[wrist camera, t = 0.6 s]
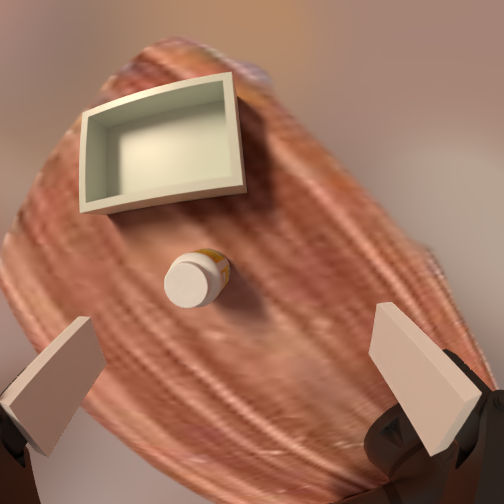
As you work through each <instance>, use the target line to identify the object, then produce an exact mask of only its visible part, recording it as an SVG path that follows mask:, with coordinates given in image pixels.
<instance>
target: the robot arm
mask: <svg viewBox="0 0 504 504" xmlns="http://www.w3.org/2000/svg"><path fill="white" fill-rule="evenodd" d="M369 355H370V357H371V358H372V360H373V362H374V363H375V365H376V366H377V368H378V369H379V371H380V373H381V374H382V376H383V377H384V379H385V381H386V382H387V384H388V385H389V387H390V389H391V390H392V392H393V393H394V395H395V397H396V398H397V400H398V402H399V403H398V404H397V405H395V406H393V407H392V408H390V409H389V410H388V411H386V412H385V413H384V414H383V415H382V416H381V417H379V418H378V419H377V420H376V422H375V423H374V424H373V425H372V426H371V428H370V429H369V431H368V432H367V434H366V437H365V439H364V450H365V452H366V455H367V457H368V459H369V460H370V461H371V462H372V463H373V464H374V465H375V466H376V467H378V468H379V469H380V470H381V471H382V472H383V473H385V474H386V475H387V476H388V478H389V480H390V482H389V483H387V484H384V485H382V486H379V487H377V488H375V489H372V490H370V491H367V492H364V493H362V494H359V495H356V496H353V497H350V498H347V499H344V500H341V501H338V502H335V503H328V504H504V390H495V391H491V390H490V388H489V387H488V386H487V385H486V384H485V383H484V382H483V381H482V380H481V379H480V378H479V377H478V376H477V375H476V374H475V373H474V372H473V371H472V370H470V368H469V367H468V366H467V365H466V364H464V362H463V361H462V360H461V359H460V358H459V357H458V356H457V355H456V354H454V353H453V352H451V351H449V350H447V349H444V350H441V349H440V348H439V347H438V346H437V345H436V344H435V343H434V342H433V341H432V340H431V339H430V338H429V337H428V336H427V335H426V334H425V333H424V332H423V331H422V330H421V329H420V328H419V327H418V326H417V325H416V324H415V323H413V322H412V321H411V320H410V319H409V318H408V317H407V316H406V315H405V314H404V313H403V312H402V311H401V310H400V309H399V308H398V307H396V306H395V305H394V304H393V303H392V302H386V303H379V304H377V307H376V314H375V321H374V327H373V333H372V339H371V345H370V350H369ZM106 364H107V363H106V361H105V358H104V355H103V353H102V350H101V347H100V344H99V342H98V339H97V336H96V333H95V330H94V327H93V323H92V320H91V317H81V316H79V317H78V318H76V319H75V320H74V321H73V322H72V323H71V324H70V325H69V326H68V327H67V328H66V329H65V330H64V331H63V332H62V333H61V334H60V335H59V336H58V337H56V338H55V339H54V340H53V341H52V342H51V343H50V344H49V345H48V346H47V347H46V348H45V349H44V350H43V351H42V352H41V353H40V354H39V355H38V356H37V357H36V358H35V359H34V361H33V362H32V363H31V364H30V365H29V366H28V367H26V368H25V369H24V370H23V371H22V372H21V373H20V374H19V375H18V377H16V378H15V379H14V380H13V383H11V384H10V385H9V386H8V387H7V388H6V389H5V390H4V391H3V392H2V394H1V395H0V504H41V503H40V499H39V496H38V492H37V488H36V485H35V480H34V475H33V471H32V466H31V461H30V454H29V451H28V449H27V447H26V446H25V445H26V443H27V442H28V443H29V444H30V445H31V446H32V448H33V449H34V450H35V451H36V452H38V453H40V454H42V455H44V456H46V457H49V456H50V454H51V452H52V451H53V449H54V447H55V446H56V444H57V442H58V440H59V439H60V437H61V435H62V433H63V432H64V430H65V428H66V427H67V425H68V423H69V422H70V420H71V418H72V417H73V415H74V413H75V412H76V410H77V409H78V407H79V405H80V404H81V402H82V401H83V399H84V398H85V396H86V394H87V393H88V391H89V390H90V388H91V387H92V385H93V384H94V382H95V380H96V379H97V377H98V376H99V374H100V373H101V371H102V370H103V368H104V367H105V365H106Z"/></svg>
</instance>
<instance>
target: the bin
mask: <svg viewBox="0 0 504 504" xmlns="http://www.w3.org/2000/svg"><path fill="white" fill-rule="evenodd" d="M245 193H247V186H246V176H245V166H244V157H243V147H242V137H241V128H240V118H239V109H238V99H237V93H236V89H235V84H234V80H233V76H232V72H227V73H221V74H214V75H209V76H203V77H198V78H193V79H188V80H183V81H179V82H175V83H171V84H167V85H163V86H159V87H155V88H152V89H148V90H145V91H141V92H138V93H135V94H132V95H129V96H126V97H123V98H120V99H117V100H114V101H111V102H109V103H106V104H103V105H101V106H98V107H96V108H93V109H91V110H88V111H86V112H83V117H82V127H81V139H80V158H79V202H80V213H86V214H101V215H108V214H113V213H119V212H124V211H129V210H135V209H140V208H146V207H152V206H158V205H164V204H170V203H177V202H183V201H190V200H197V199H204V198H212V197H219V196H227V195H236V194H245Z"/></svg>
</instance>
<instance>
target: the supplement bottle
mask: <svg viewBox="0 0 504 504" xmlns="http://www.w3.org/2000/svg"><path fill="white" fill-rule="evenodd" d="M229 278H230V265H229V262H228V260H227V259H226V257H225V256H224V255H223V254H222V253H220V252H218V251H216V250H214V249H200V250H197V251H193V252H189V253H186V254H183V255H181V256H180V257H178V258H177V259H176V260H175V261H174V262H173V263H172V265H171V267H170V269H169V271H168V272H167V274H166V276H165V280H164V288H165V292H166V294H167V296H168V298H169V299H170V300H171V301H172V302H173V303H174V304H175V305H177V306H179V307H182V308H193V307H203V306H206V305H208V304H210V303H211V302H212V301H214V300H215V299H216V297H217V296H218V295H219V294H220V292H221V291H222V290H223V288H224V287H225V286H226V284H227V283H228V281H229Z"/></svg>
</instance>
